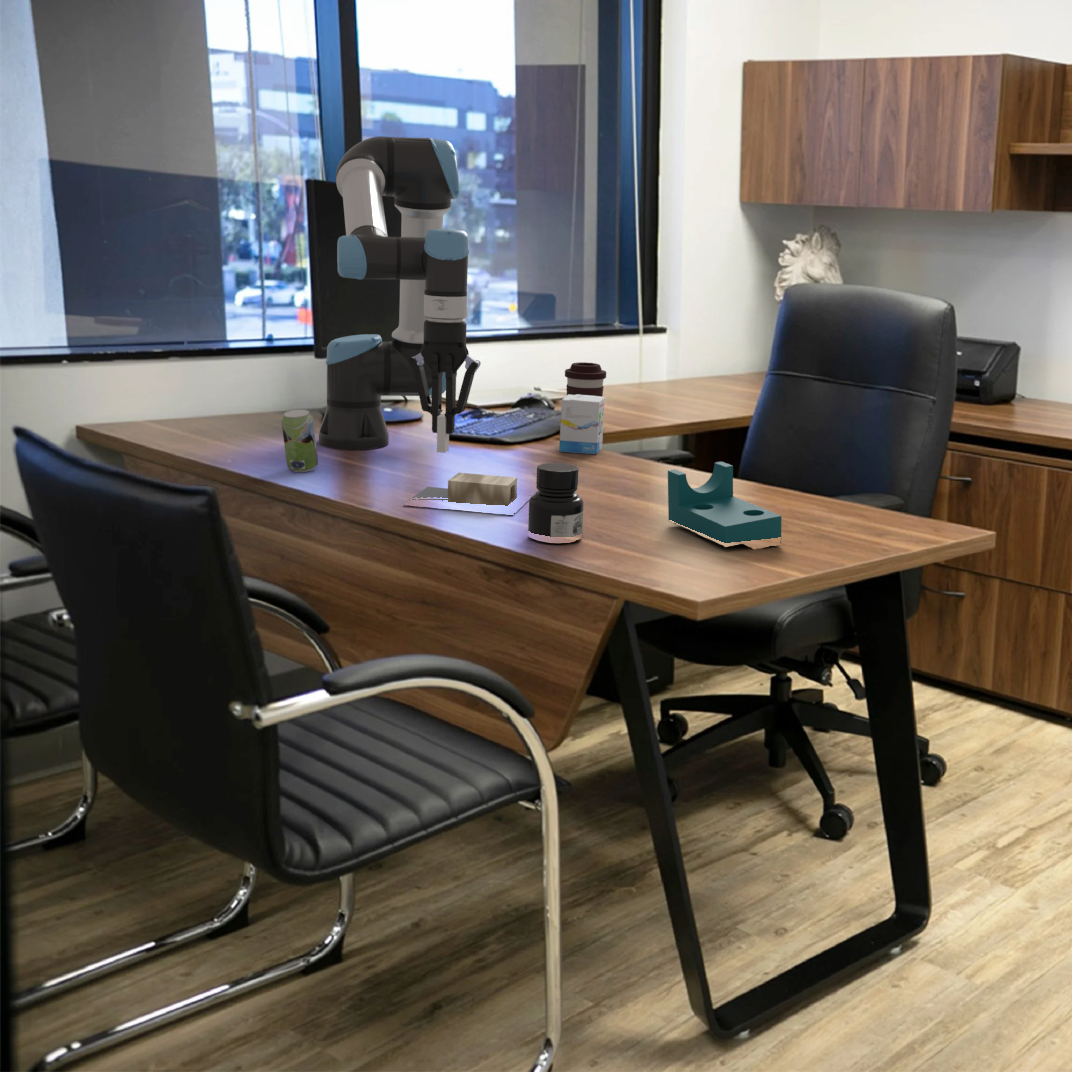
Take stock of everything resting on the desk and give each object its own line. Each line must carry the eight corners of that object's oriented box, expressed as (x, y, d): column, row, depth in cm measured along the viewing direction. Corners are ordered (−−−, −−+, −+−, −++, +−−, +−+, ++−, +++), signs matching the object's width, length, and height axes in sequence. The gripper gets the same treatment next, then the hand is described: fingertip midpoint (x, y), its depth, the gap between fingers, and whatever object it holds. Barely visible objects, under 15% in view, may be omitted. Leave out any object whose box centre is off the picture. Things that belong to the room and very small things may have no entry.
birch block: (448, 480, 233) (508, 485, 231) (458, 472, 240) (517, 477, 238) (447, 502, 234) (508, 507, 232) (458, 493, 241) (517, 499, 239)
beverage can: (323, 469, 260) (323, 409, 257) (305, 476, 253) (304, 414, 250) (295, 465, 262) (294, 406, 258) (276, 472, 255) (275, 411, 252)
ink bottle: (562, 549, 209) (565, 476, 206) (516, 540, 213) (518, 468, 210) (592, 536, 217) (596, 466, 214) (547, 528, 221) (550, 458, 218)
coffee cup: (556, 427, 314) (559, 364, 310) (571, 420, 323) (573, 360, 319) (595, 431, 310) (598, 368, 306) (609, 425, 319) (612, 363, 315)
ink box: (596, 455, 283) (599, 401, 280) (558, 452, 285) (560, 399, 282) (602, 447, 291) (605, 395, 288) (565, 444, 293) (567, 393, 290)
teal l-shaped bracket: (668, 528, 227) (667, 470, 223) (721, 518, 231) (721, 461, 228) (725, 556, 211) (724, 494, 208) (781, 545, 215) (781, 483, 212)
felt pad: (404, 506, 233) (404, 503, 233) (427, 489, 246) (427, 486, 246) (513, 515, 229) (513, 513, 228) (531, 498, 242) (531, 495, 242)
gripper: (403, 319, 228) (401, 452, 234) (475, 323, 225) (472, 458, 232) (415, 315, 235) (414, 444, 241) (486, 319, 232) (482, 449, 239)
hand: (442, 450), depth 236 cm, fingers closed
